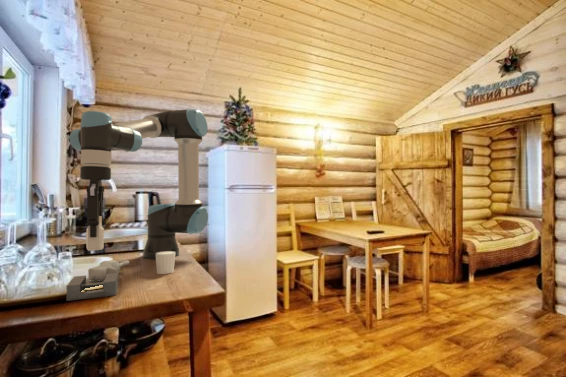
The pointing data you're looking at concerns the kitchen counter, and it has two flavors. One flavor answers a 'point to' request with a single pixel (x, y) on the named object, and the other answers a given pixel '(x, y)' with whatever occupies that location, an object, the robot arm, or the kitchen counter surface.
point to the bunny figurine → (105, 269)
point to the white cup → (165, 262)
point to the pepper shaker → (101, 237)
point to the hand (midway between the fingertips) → (94, 247)
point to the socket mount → (80, 284)
